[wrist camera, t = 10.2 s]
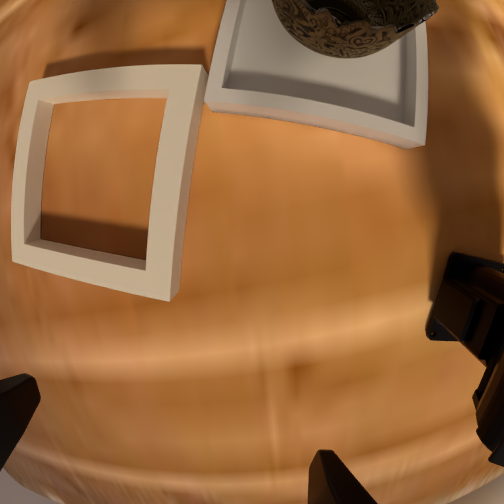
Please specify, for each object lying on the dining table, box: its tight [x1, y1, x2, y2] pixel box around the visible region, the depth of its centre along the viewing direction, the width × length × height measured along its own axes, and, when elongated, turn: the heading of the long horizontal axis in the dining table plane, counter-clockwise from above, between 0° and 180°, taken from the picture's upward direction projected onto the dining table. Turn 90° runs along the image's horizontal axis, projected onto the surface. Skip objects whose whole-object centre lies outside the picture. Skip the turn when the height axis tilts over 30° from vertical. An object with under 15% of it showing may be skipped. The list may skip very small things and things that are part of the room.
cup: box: [272, 0, 439, 59], centre depth 10 cm, size 8×7×8 cm
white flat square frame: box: [11, 64, 209, 302], centre depth 17 cm, size 14×14×2 cm
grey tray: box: [204, 0, 428, 149], centre depth 14 cm, size 12×12×2 cm
